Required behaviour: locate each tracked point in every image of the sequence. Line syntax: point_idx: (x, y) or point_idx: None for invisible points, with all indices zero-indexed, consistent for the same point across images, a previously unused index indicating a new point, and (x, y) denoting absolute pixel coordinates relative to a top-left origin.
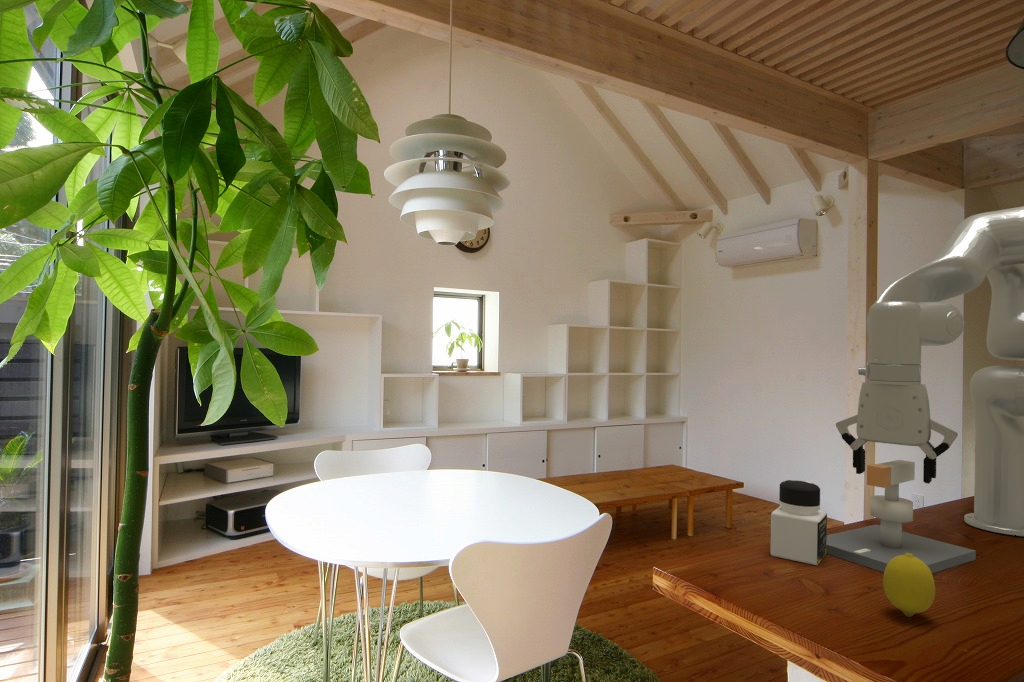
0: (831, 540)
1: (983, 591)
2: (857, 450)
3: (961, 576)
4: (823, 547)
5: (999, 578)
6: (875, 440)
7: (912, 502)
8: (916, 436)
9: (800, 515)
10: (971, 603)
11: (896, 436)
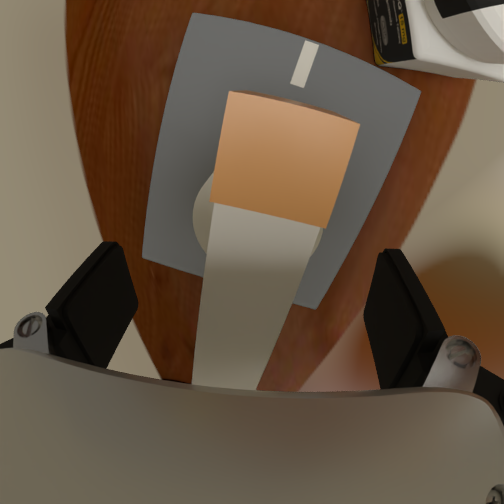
0: (381, 112)
1: (99, 76)
2: (436, 339)
3: (136, 127)
4: (377, 24)
5: (99, 171)
6: (346, 398)
7: (197, 234)
8: None
9: None
10: (107, 5)
11: (101, 436)
